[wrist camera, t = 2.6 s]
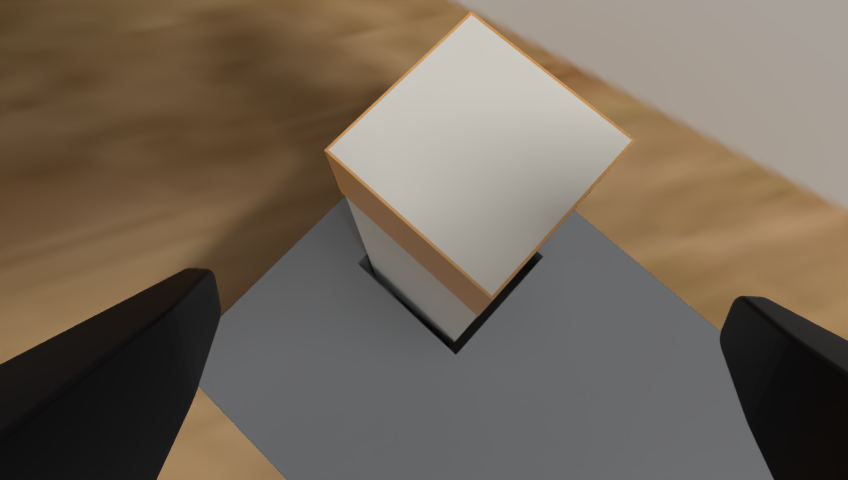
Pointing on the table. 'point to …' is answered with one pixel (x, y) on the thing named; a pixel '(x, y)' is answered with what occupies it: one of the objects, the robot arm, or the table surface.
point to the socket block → (479, 372)
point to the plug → (468, 172)
